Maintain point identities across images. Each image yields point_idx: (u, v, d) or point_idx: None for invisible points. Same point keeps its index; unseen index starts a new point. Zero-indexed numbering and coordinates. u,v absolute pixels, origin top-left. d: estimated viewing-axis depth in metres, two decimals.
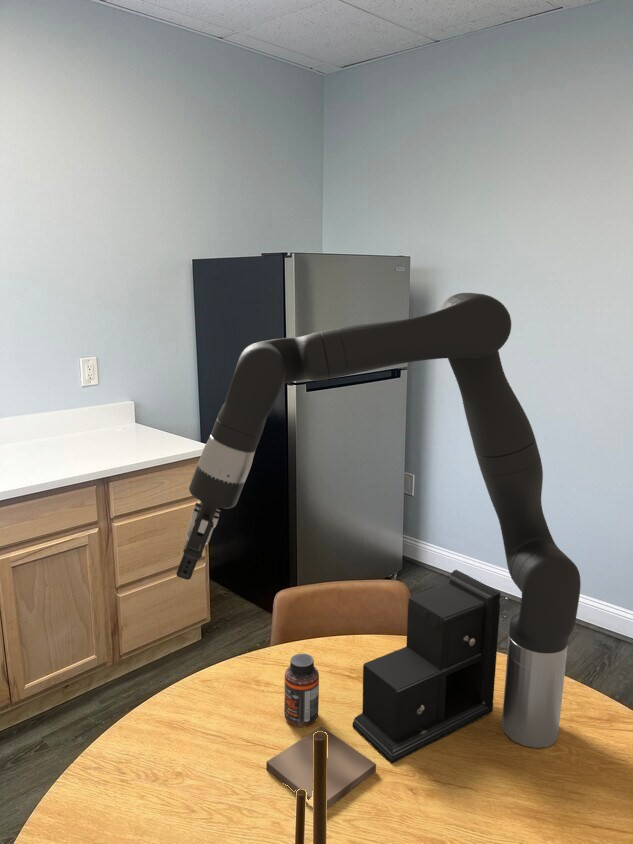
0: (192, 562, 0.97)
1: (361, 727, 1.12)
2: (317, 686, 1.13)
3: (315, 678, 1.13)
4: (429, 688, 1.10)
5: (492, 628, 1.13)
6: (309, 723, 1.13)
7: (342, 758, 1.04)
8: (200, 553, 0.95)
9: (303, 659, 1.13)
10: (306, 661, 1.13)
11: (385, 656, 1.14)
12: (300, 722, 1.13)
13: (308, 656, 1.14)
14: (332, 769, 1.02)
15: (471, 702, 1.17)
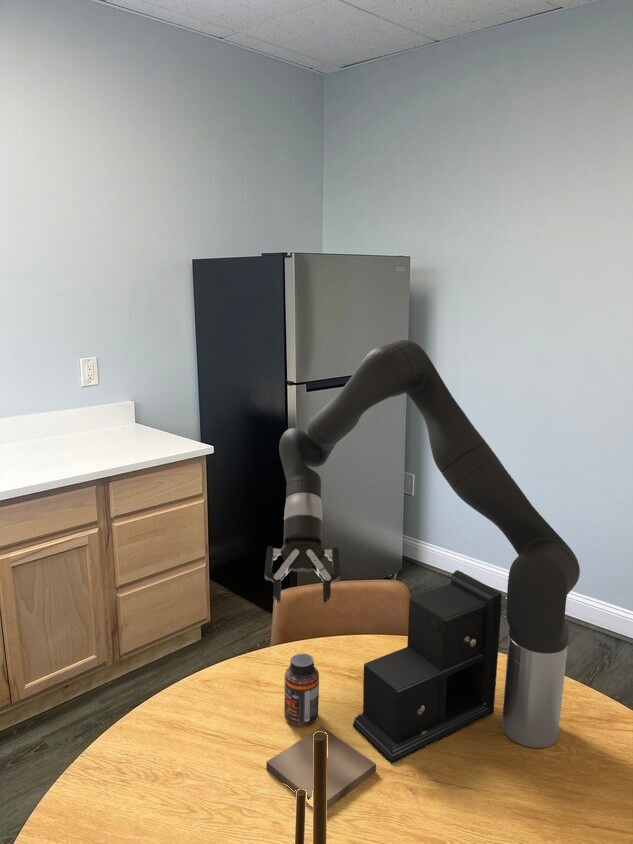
0: None
1: (362, 727, 1.12)
2: (317, 686, 1.13)
3: (315, 678, 1.13)
4: (429, 688, 1.10)
5: (493, 629, 1.13)
6: (309, 723, 1.13)
7: (342, 758, 1.04)
8: None
9: (303, 659, 1.13)
10: (306, 661, 1.13)
11: (386, 656, 1.14)
12: (300, 722, 1.13)
13: (308, 656, 1.14)
14: (332, 769, 1.02)
15: (472, 703, 1.17)
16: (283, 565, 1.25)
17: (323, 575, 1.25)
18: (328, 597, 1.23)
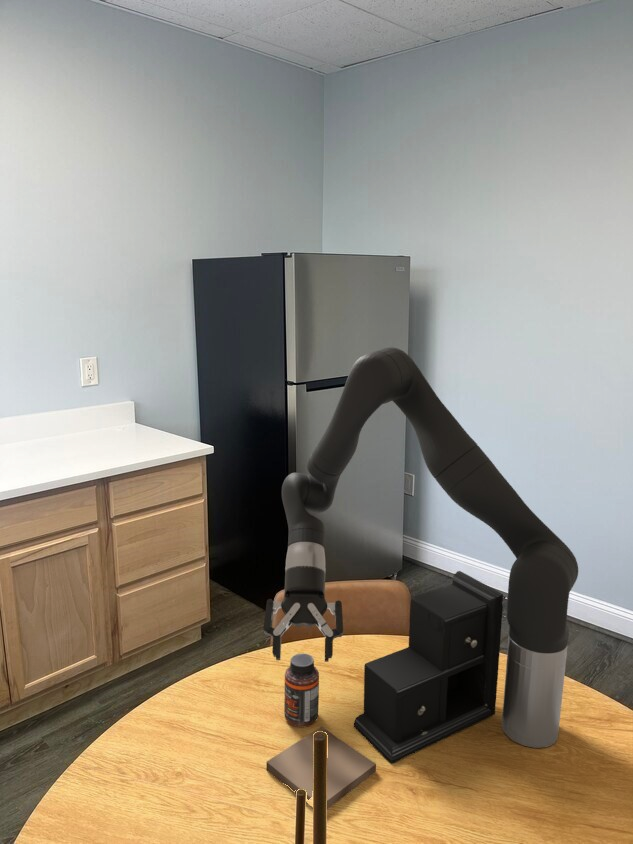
0: (273, 640, 1.18)
1: (362, 727, 1.12)
2: (317, 686, 1.13)
3: (315, 678, 1.13)
4: (430, 689, 1.10)
5: (495, 630, 1.13)
6: (309, 723, 1.13)
7: (342, 758, 1.04)
8: None
9: (303, 659, 1.13)
10: (306, 661, 1.13)
11: (387, 656, 1.14)
12: (300, 722, 1.13)
13: (308, 656, 1.14)
14: (332, 769, 1.02)
15: (474, 704, 1.17)
16: (283, 620, 1.19)
17: (325, 631, 1.19)
18: (330, 655, 1.17)
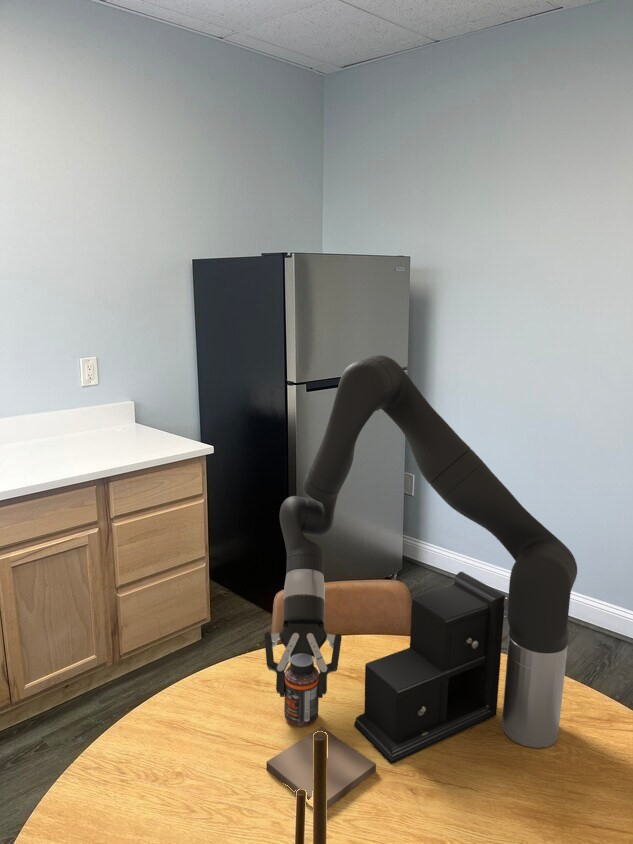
0: None
1: (363, 727, 1.12)
2: (317, 686, 1.13)
3: (315, 677, 1.13)
4: (430, 689, 1.09)
5: (496, 631, 1.12)
6: (309, 723, 1.13)
7: (342, 758, 1.04)
8: None
9: (303, 659, 1.13)
10: (306, 661, 1.13)
11: (388, 656, 1.14)
12: (300, 722, 1.13)
13: (308, 656, 1.14)
14: (332, 769, 1.02)
15: (475, 705, 1.16)
16: (284, 653, 1.15)
17: (319, 665, 1.15)
18: (324, 691, 1.13)
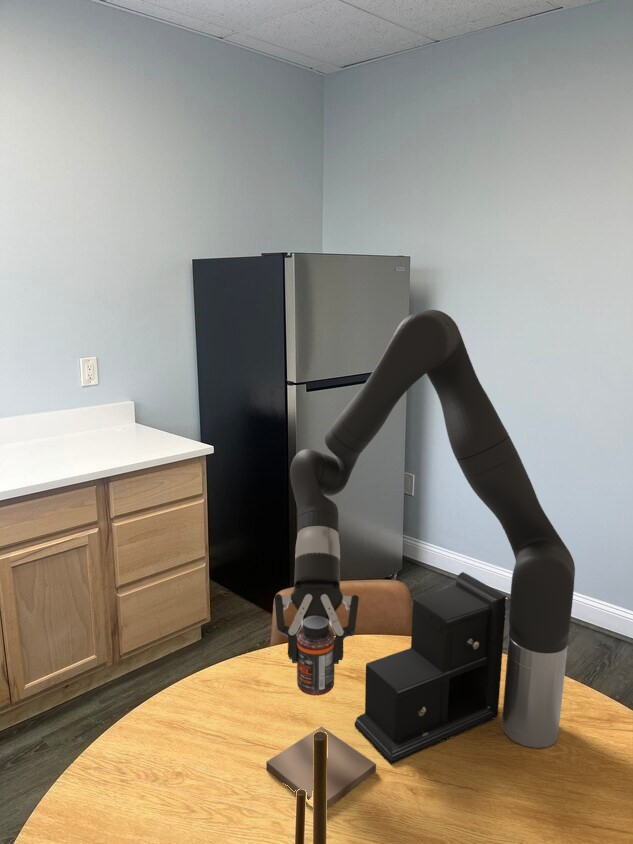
0: (288, 640, 1.05)
1: (363, 727, 1.12)
2: (332, 651, 1.03)
3: (330, 641, 1.03)
4: (431, 690, 1.09)
5: (497, 632, 1.12)
6: (324, 691, 1.03)
7: (342, 758, 1.04)
8: (277, 624, 1.05)
9: (316, 621, 1.03)
10: (320, 624, 1.03)
11: (388, 657, 1.14)
12: (314, 690, 1.03)
13: (322, 618, 1.04)
14: (332, 769, 1.02)
15: (476, 706, 1.16)
16: (297, 616, 1.05)
17: (335, 628, 1.05)
18: (340, 656, 1.03)
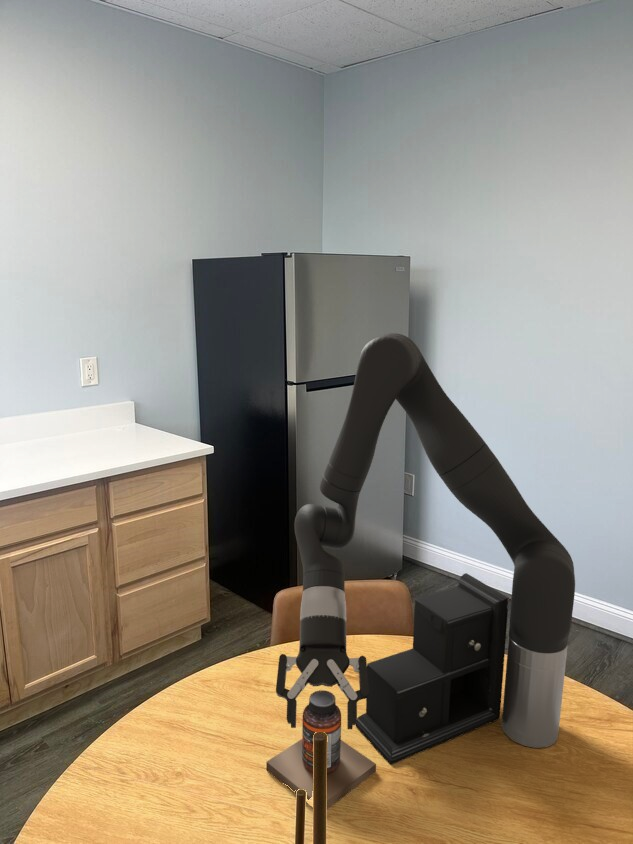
0: (287, 704, 1.02)
1: (364, 727, 1.12)
2: (339, 728, 1.01)
3: (337, 719, 1.00)
4: (432, 691, 1.09)
5: (499, 633, 1.12)
6: (330, 769, 1.01)
7: (342, 758, 1.04)
8: (276, 685, 1.03)
9: (323, 698, 1.01)
10: (327, 700, 1.00)
11: (390, 657, 1.14)
12: None
13: (329, 694, 1.02)
14: None
15: (478, 708, 1.16)
16: (299, 680, 1.02)
17: (348, 693, 1.02)
18: (354, 722, 1.00)
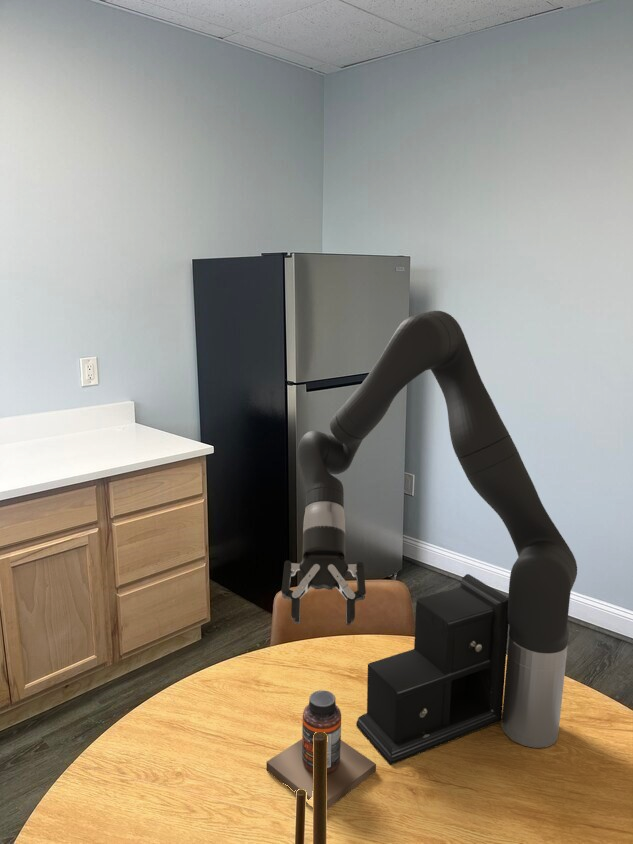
0: None
1: (364, 727, 1.12)
2: (339, 728, 1.01)
3: (337, 719, 1.00)
4: (432, 692, 1.09)
5: (501, 635, 1.11)
6: (330, 769, 1.01)
7: (342, 758, 1.04)
8: None
9: (323, 698, 1.01)
10: (327, 700, 1.00)
11: (391, 657, 1.14)
12: None
13: (329, 694, 1.02)
14: None
15: (479, 709, 1.15)
16: (302, 582, 1.13)
17: (346, 593, 1.12)
18: (352, 618, 1.11)
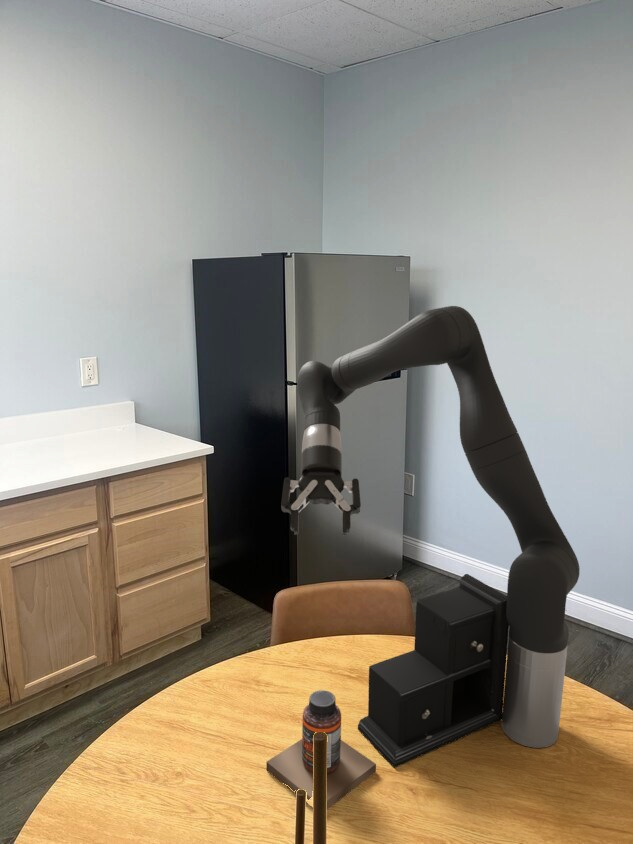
0: None
1: (366, 730, 1.11)
2: (339, 728, 1.01)
3: (337, 719, 1.00)
4: (435, 693, 1.09)
5: (501, 634, 1.11)
6: (330, 769, 1.01)
7: (342, 758, 1.04)
8: (281, 501, 1.20)
9: (323, 698, 1.01)
10: (327, 700, 1.00)
11: (392, 659, 1.13)
12: None
13: (329, 694, 1.02)
14: None
15: (480, 709, 1.15)
16: (301, 495, 1.20)
17: (342, 506, 1.19)
18: (348, 527, 1.17)
